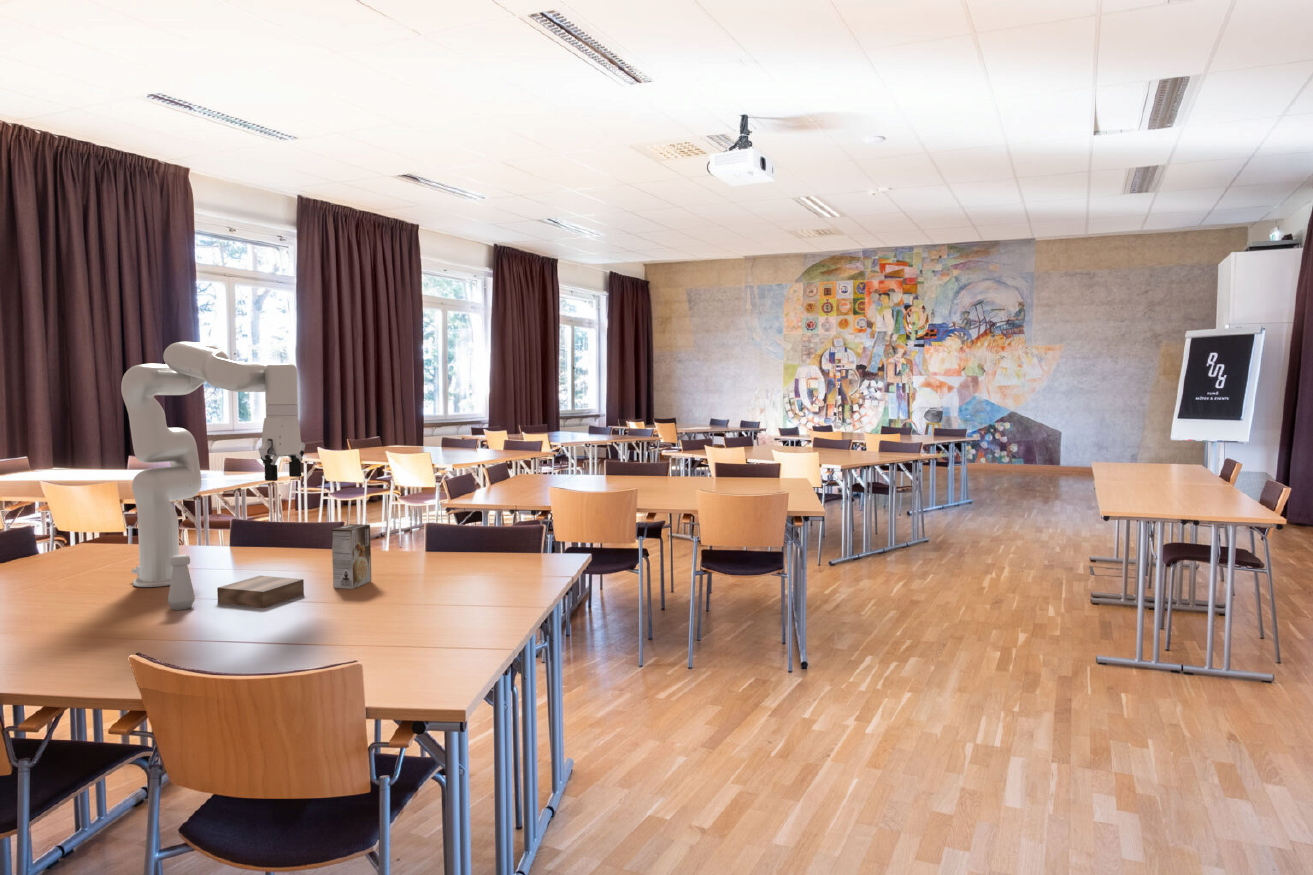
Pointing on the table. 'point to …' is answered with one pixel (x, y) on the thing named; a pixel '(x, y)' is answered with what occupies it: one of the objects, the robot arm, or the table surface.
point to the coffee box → (351, 556)
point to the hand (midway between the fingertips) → (283, 478)
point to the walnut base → (260, 591)
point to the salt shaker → (180, 583)
